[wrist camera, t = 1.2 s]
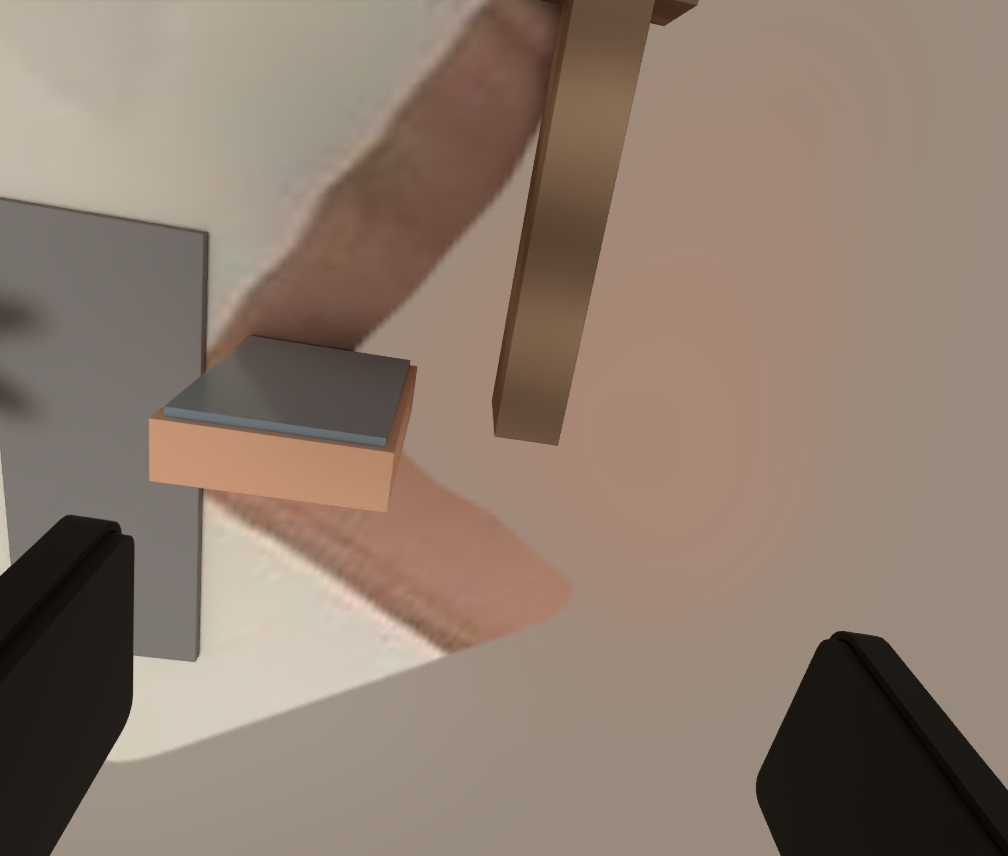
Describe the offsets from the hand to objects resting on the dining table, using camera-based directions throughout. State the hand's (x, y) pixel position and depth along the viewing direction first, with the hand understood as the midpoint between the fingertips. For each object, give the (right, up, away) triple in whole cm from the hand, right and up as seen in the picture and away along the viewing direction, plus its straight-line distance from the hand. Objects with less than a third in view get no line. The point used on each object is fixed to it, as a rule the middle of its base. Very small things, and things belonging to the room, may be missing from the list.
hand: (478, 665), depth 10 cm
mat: (-17, +2, +21) cm, 26 cm away
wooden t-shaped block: (+2, +12, +18) cm, 21 cm away
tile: (-7, +5, +20) cm, 21 cm away
